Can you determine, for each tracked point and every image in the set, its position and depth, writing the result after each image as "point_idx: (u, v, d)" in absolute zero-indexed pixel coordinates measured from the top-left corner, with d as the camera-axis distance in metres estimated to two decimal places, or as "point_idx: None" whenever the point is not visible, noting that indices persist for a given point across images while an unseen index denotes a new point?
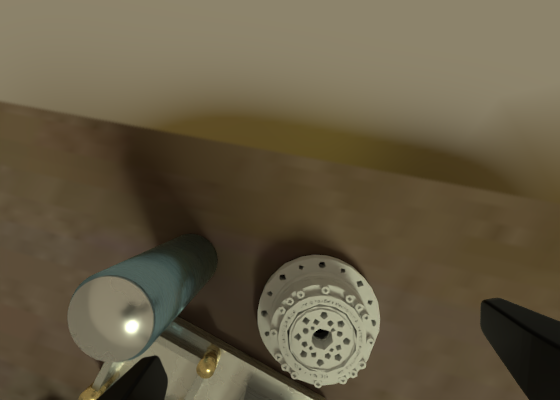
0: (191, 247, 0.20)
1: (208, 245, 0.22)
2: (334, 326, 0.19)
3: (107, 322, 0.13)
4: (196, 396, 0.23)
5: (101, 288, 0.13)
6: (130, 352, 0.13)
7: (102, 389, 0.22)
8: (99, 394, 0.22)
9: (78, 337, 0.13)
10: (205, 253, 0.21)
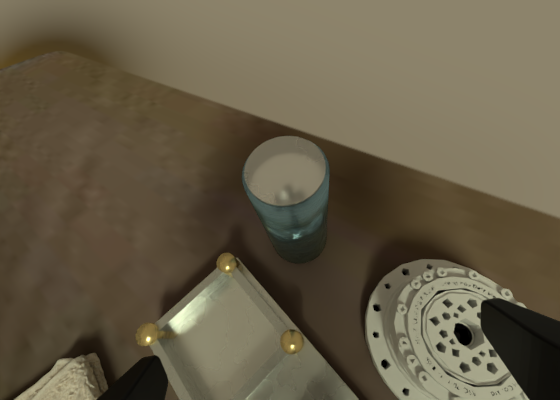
0: None
1: None
2: None
3: (281, 169, 0.14)
4: (255, 395, 0.17)
5: (286, 143, 0.15)
6: (292, 198, 0.13)
7: (162, 333, 0.19)
8: (157, 336, 0.19)
9: (249, 176, 0.14)
10: None
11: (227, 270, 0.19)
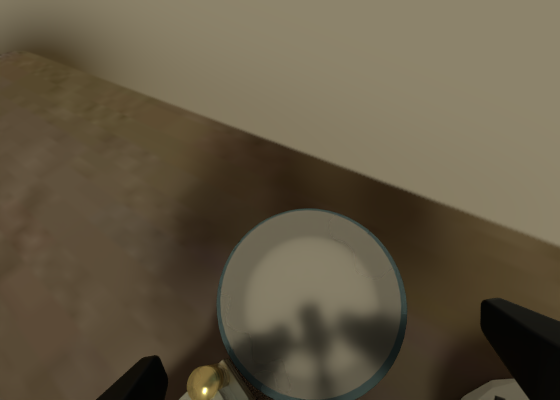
0: None
1: None
2: None
3: (300, 294, 0.06)
4: None
5: (309, 228, 0.07)
6: (329, 383, 0.05)
7: None
8: None
9: (230, 307, 0.06)
10: None
11: None
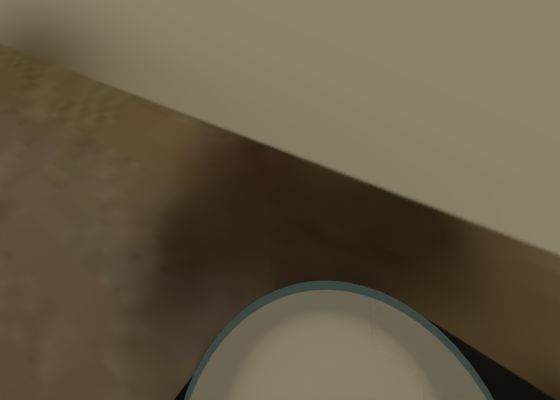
0: None
1: None
2: None
3: None
4: None
5: (335, 326, 0.04)
6: None
7: None
8: None
9: None
10: None
11: None
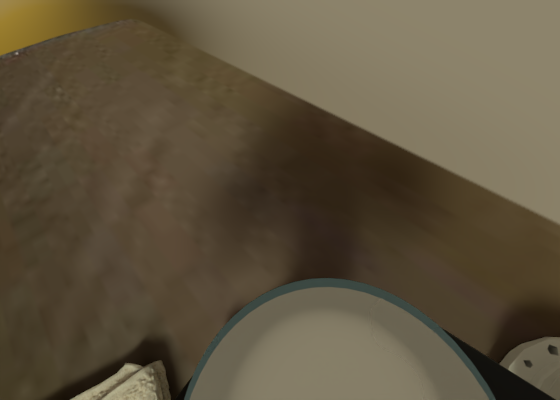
0: None
1: None
2: None
3: None
4: None
5: (336, 323, 0.04)
6: None
7: None
8: None
9: None
10: None
11: None
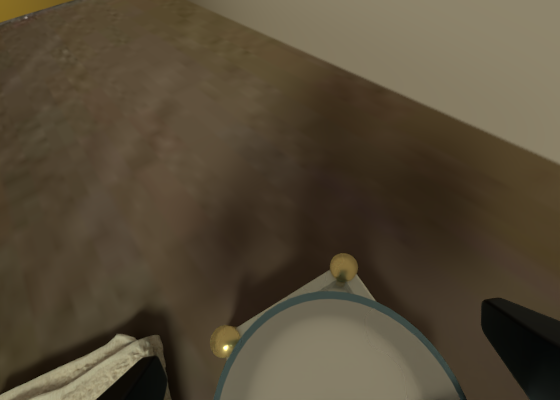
0: None
1: None
2: None
3: None
4: None
5: (337, 328, 0.05)
6: None
7: None
8: None
9: None
10: None
11: (345, 278, 0.14)
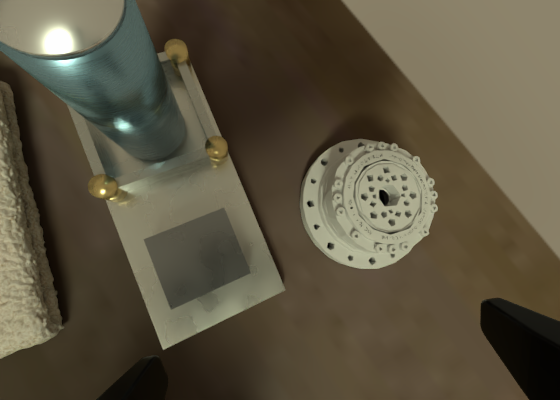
0: None
1: (182, 116, 0.18)
2: (406, 193, 0.18)
3: None
4: (164, 182, 0.18)
5: None
6: (48, 46, 0.08)
7: None
8: None
9: None
10: (179, 113, 0.17)
11: (174, 57, 0.17)
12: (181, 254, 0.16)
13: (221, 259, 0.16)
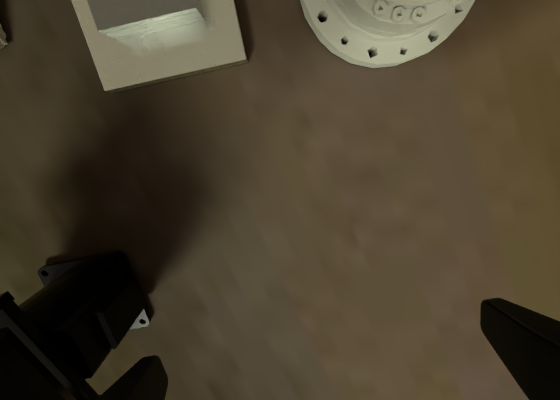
0: None
1: None
2: None
3: None
4: None
5: None
6: None
7: None
8: None
9: None
10: None
11: None
12: None
13: None
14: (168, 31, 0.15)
